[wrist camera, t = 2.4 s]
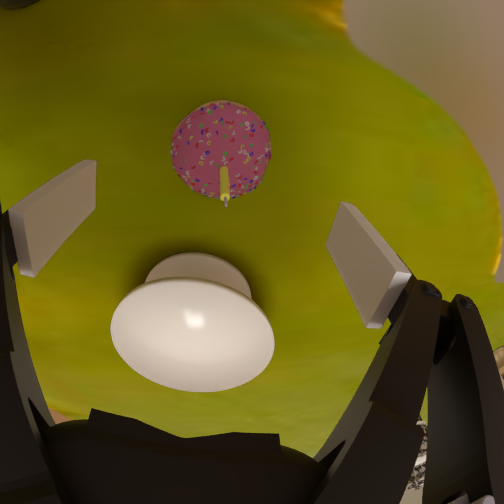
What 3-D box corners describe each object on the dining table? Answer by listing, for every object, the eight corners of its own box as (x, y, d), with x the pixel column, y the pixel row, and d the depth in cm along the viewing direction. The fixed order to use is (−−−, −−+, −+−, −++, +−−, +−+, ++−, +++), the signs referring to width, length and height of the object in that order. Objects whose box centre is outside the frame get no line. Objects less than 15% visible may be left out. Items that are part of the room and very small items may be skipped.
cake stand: (128, 226, 32) (102, 268, 25) (283, 250, 35) (296, 297, 27) (132, 333, 41) (119, 379, 34) (250, 350, 44) (254, 397, 36)
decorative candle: (376, 380, 52) (412, 488, 30) (414, 370, 52) (455, 469, 31) (365, 402, 57) (394, 499, 35) (401, 393, 57) (433, 483, 36)
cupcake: (275, 168, 30) (299, 217, 19) (196, 192, 30) (178, 252, 20) (252, 88, 25) (264, 87, 15) (168, 115, 26) (127, 136, 16)
